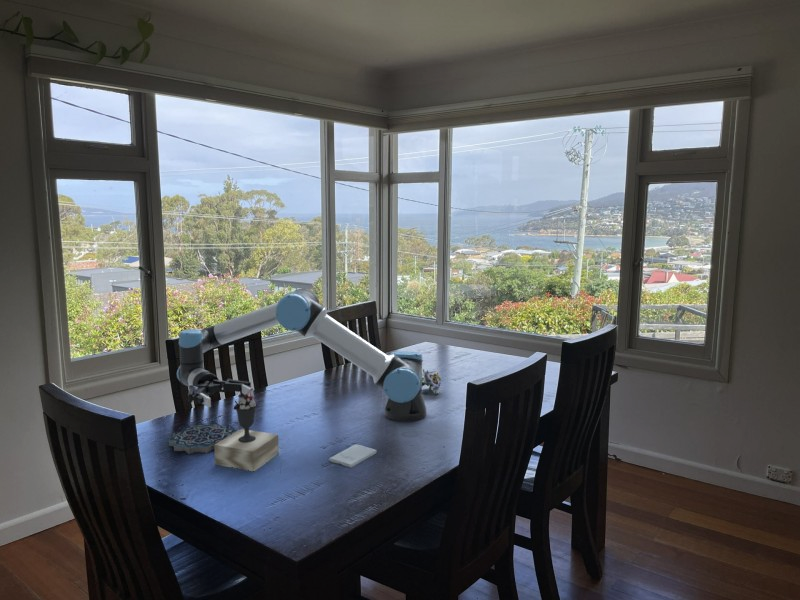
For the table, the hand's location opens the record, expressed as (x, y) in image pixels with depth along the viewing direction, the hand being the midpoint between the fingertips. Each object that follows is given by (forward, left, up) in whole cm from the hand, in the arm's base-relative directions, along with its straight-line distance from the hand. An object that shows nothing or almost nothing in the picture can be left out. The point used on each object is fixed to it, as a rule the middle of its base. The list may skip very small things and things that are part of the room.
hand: (231, 398), depth 175 cm
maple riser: (-8, +5, -16) cm, 19 cm away
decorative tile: (+13, -2, -17) cm, 21 cm away
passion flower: (-39, -74, -16) cm, 86 cm away
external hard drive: (-37, -8, -17) cm, 41 cm away
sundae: (-8, +5, -10) cm, 14 cm away
